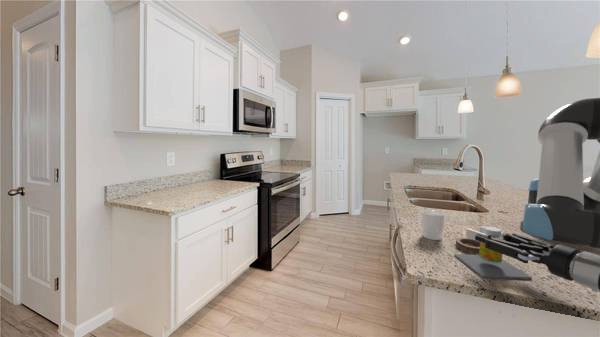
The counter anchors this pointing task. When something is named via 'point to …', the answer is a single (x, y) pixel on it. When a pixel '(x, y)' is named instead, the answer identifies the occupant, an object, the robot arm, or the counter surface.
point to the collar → (462, 245)
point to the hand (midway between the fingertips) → (474, 231)
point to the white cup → (432, 224)
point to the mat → (492, 268)
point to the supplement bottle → (486, 253)
